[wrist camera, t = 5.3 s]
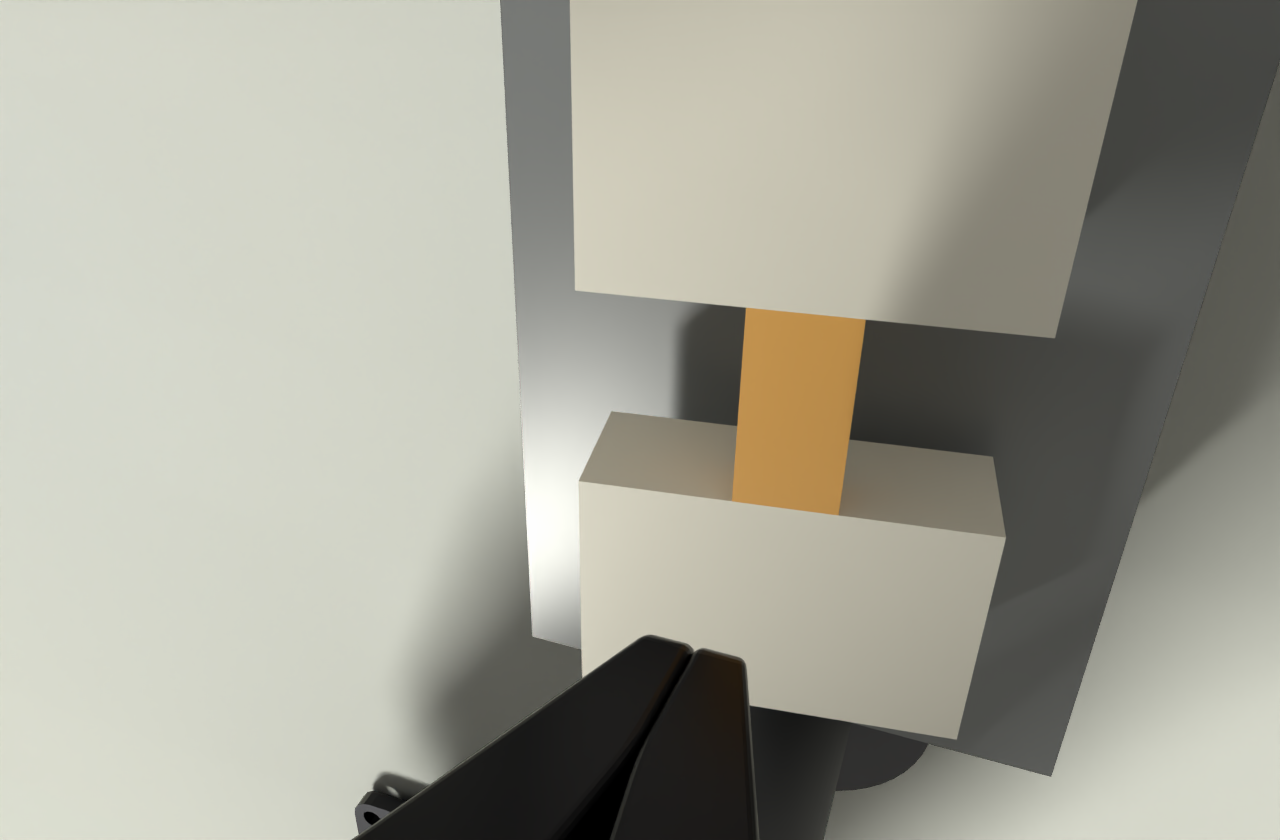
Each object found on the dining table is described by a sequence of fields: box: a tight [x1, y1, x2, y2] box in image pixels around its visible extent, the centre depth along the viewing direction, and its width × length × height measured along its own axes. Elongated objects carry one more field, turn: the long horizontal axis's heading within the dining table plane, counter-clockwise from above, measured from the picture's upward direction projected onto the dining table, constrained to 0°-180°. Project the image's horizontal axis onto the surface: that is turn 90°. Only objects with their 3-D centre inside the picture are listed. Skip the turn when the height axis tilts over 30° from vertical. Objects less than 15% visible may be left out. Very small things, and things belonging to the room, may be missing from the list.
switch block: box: [500, 0, 1280, 777], centre depth 12 cm, size 11×7×4 cm, turn 179°
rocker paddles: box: [570, 0, 1138, 740], centre depth 10 cm, size 7×4×1 cm, turn 179°
